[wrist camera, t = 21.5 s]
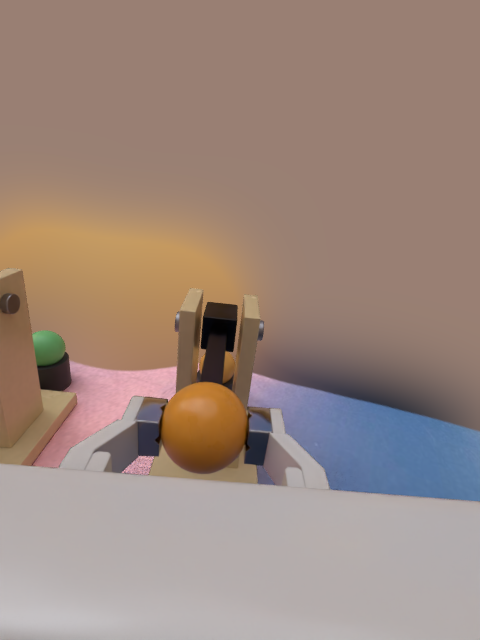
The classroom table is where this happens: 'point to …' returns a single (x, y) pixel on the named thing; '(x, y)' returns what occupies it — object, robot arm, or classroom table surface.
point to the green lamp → (51, 361)
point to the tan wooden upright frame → (187, 375)
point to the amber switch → (207, 404)
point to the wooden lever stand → (23, 381)
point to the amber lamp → (228, 370)
